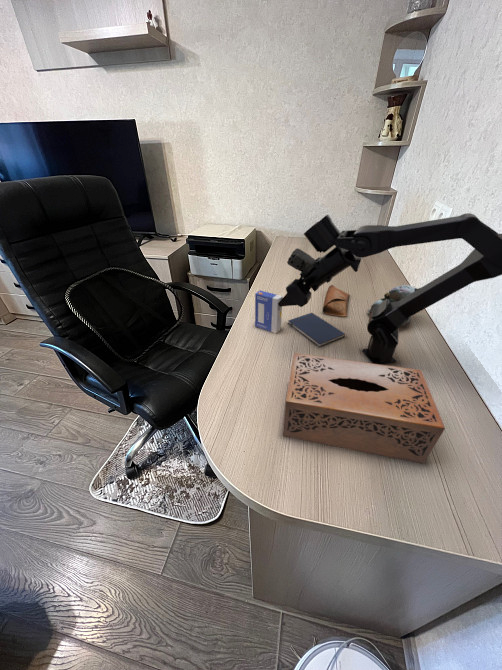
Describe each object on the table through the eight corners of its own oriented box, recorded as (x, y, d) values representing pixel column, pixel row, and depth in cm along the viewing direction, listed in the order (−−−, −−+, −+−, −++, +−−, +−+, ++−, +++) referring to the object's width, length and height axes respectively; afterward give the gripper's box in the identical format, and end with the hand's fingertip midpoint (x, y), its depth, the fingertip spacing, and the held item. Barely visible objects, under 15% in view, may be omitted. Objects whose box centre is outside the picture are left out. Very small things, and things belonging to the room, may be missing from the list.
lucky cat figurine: (361, 308, 98) (383, 272, 94) (391, 322, 99) (414, 287, 95) (378, 319, 84) (405, 276, 80) (412, 335, 85) (440, 294, 81)
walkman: (255, 326, 89) (255, 292, 82) (259, 322, 91) (259, 289, 84) (276, 333, 85) (278, 298, 79) (280, 329, 87) (283, 295, 81)
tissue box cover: (406, 403, 62) (421, 370, 56) (423, 463, 50) (445, 428, 45) (290, 385, 67) (294, 352, 61) (282, 435, 55) (285, 401, 50)
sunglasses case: (348, 316, 93) (340, 299, 90) (327, 322, 96) (320, 306, 94) (349, 294, 107) (343, 279, 105) (332, 300, 110) (325, 285, 108)
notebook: (344, 337, 84) (345, 333, 83) (319, 347, 80) (319, 343, 79) (311, 315, 95) (312, 312, 94) (287, 323, 90) (288, 320, 90)
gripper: (318, 231, 75) (278, 265, 85) (297, 251, 61) (252, 288, 71) (343, 264, 76) (300, 293, 86) (328, 290, 62) (279, 321, 73)
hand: (284, 298), depth 79 cm, fingers open, 9 cm apart
